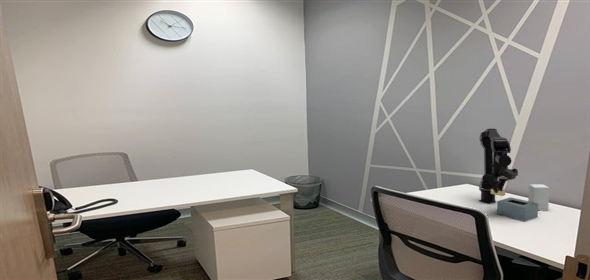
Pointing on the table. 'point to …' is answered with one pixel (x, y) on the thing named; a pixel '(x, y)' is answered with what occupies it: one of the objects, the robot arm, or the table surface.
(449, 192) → the table surface
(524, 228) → the table surface
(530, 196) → the supplement box
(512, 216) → the box
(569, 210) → the table surface
